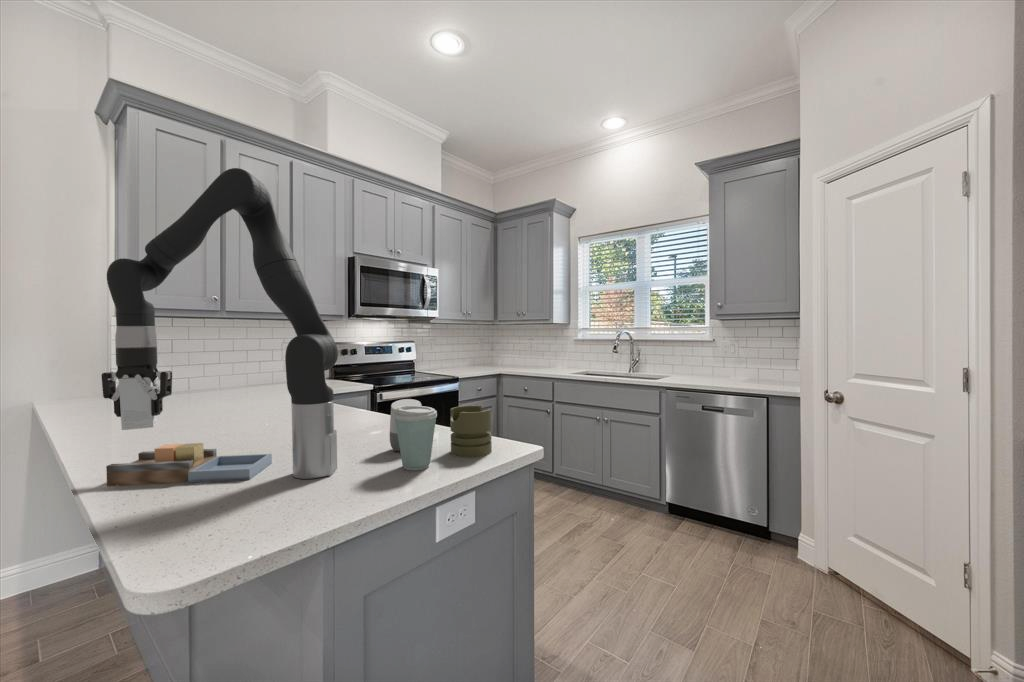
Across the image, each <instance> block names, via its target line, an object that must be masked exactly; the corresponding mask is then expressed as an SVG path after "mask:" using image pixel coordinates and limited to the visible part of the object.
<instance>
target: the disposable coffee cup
mask: <svg viewBox="0 0 1024 682" xmlns="http://www.w3.org/2000/svg"><path fill="white" fill-rule="evenodd" d="M437 417H438V411H437V410H436V409H435V408H433V407H430V406H423V405H422V406H399V407H397V408H396V412H395V414H394V418H395V422H396V428H397V434H398V441H399V447H400V452H399V453H400V457H401V458H400V459H401V463H402V466H403V468H404V470H406V471H421V470H426V469H427V468H429V467H430V464H431V461H432V459H431V457H432V452H433V444H434V436H435V429H436V423H437V422H436V421H437Z"/></svg>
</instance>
